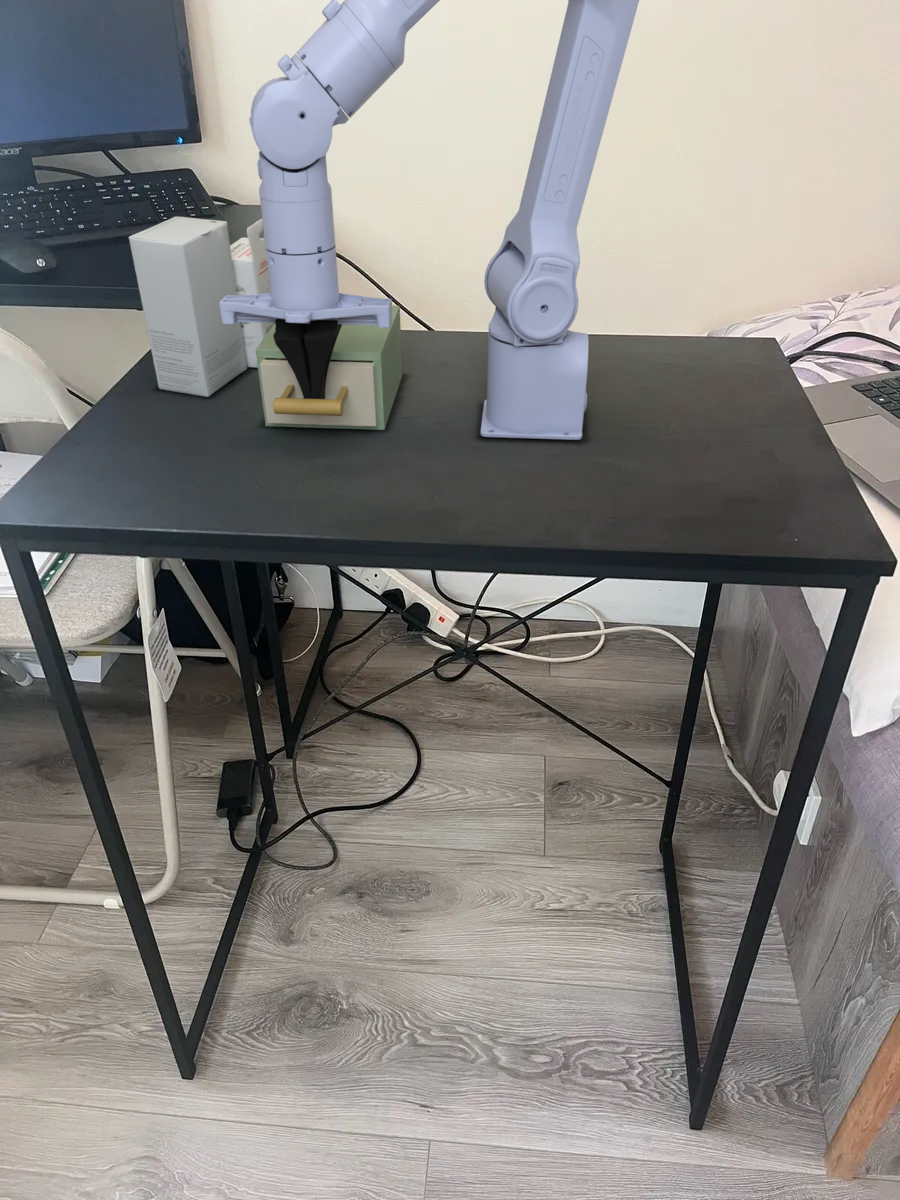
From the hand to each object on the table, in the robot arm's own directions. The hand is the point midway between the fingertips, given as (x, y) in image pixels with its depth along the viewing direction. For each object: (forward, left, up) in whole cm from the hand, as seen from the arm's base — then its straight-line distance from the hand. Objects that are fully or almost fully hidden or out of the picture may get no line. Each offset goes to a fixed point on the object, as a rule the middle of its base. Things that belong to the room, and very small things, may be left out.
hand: (315, 402), depth 82 cm
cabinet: (0, -10, -4) cm, 10 cm away
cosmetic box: (+15, -14, -4) cm, 21 cm away
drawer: (0, -5, -3) cm, 6 cm away
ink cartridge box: (+11, -22, -4) cm, 25 cm away
